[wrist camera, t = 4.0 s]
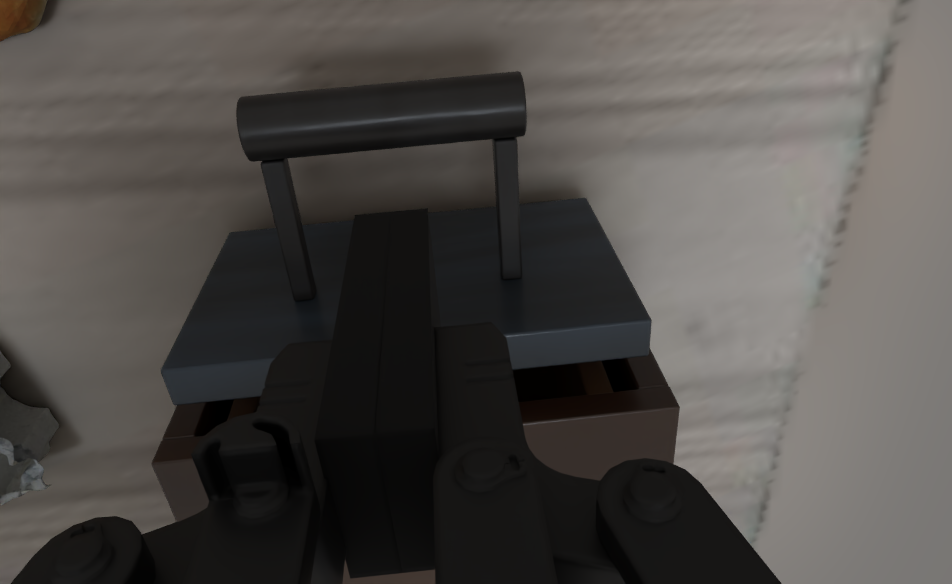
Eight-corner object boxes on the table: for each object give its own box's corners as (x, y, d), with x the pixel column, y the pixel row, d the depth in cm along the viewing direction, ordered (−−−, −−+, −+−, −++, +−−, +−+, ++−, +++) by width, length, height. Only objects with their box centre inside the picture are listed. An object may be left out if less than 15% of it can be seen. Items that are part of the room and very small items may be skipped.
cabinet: (233, 274, 26) (150, 463, 18) (595, 238, 27) (680, 406, 18) (321, 574, 35) (293, 792, 27) (588, 544, 36) (642, 748, 28)
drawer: (180, 61, 21) (72, 150, 14) (589, 24, 22) (669, 94, 15) (318, 544, 33) (294, 718, 26) (581, 515, 33) (624, 679, 27)
